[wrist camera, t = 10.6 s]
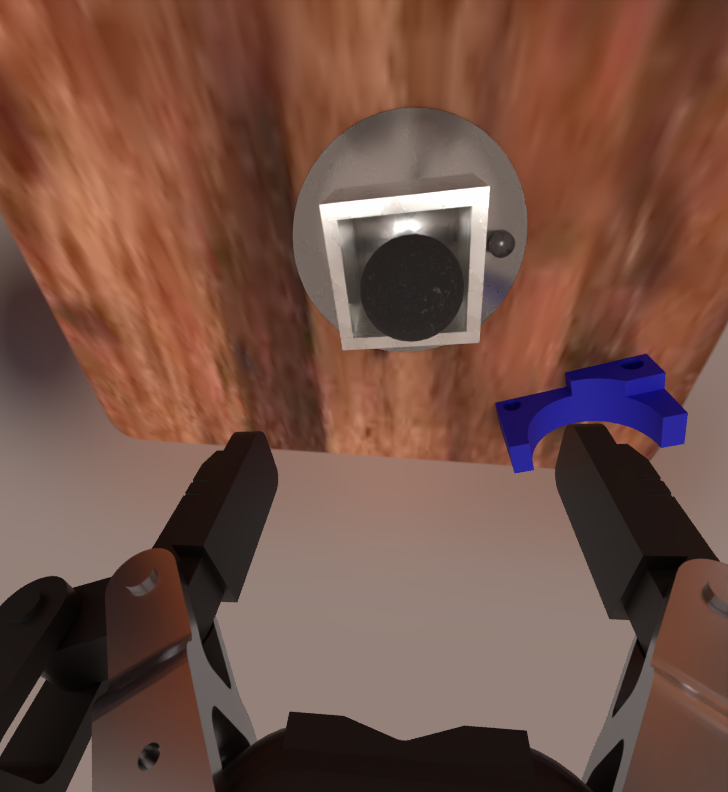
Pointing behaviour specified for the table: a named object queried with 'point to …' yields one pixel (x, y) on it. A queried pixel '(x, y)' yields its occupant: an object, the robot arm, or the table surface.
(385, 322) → the light bulb
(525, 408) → the cable clip
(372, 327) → the lamp base
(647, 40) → the table surface
